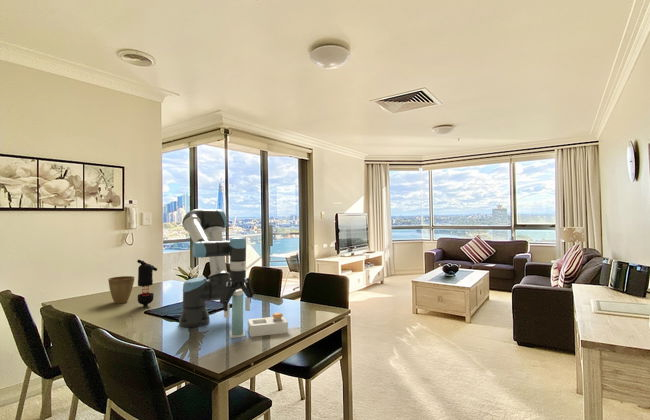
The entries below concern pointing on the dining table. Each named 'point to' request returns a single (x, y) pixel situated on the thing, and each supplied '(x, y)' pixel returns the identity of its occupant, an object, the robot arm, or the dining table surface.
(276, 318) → the plunger
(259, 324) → the base
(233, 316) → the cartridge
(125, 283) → the plant pot
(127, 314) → the dining table surface
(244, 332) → the mat
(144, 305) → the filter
